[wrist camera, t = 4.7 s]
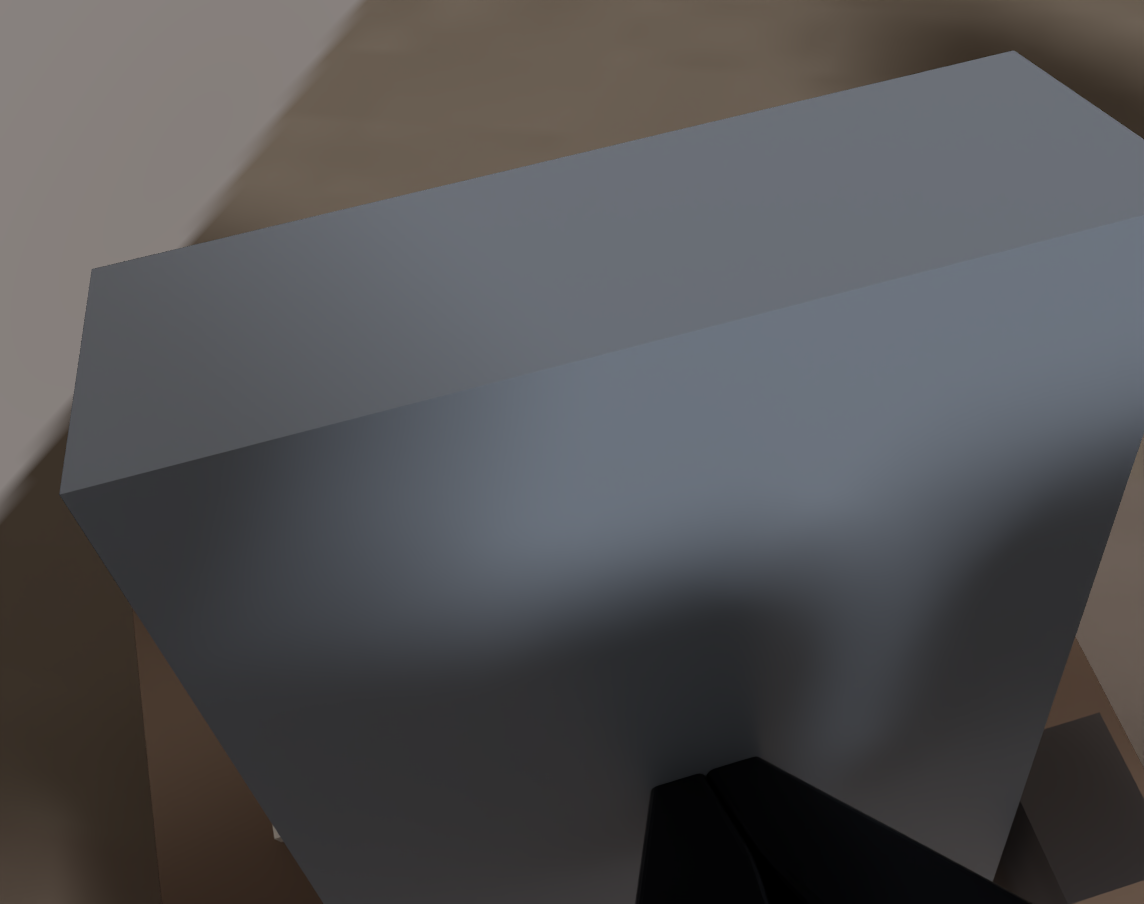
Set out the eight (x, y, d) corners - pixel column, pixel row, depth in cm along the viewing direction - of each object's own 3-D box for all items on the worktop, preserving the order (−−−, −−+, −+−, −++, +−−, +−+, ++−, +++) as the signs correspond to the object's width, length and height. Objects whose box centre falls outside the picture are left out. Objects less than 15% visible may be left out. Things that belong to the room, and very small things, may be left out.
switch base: (1207, 1131, 14) (1522, 1200, 9) (306, 1453, 13) (127, 1724, 8) (896, 475, 18) (998, 291, 14) (205, 667, 17) (50, 539, 12)
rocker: (989, 933, 12) (1258, 186, 6) (438, 1115, 11) (16, 504, 5) (906, 780, 14) (1042, 42, 7) (411, 932, 13) (56, 277, 6)
